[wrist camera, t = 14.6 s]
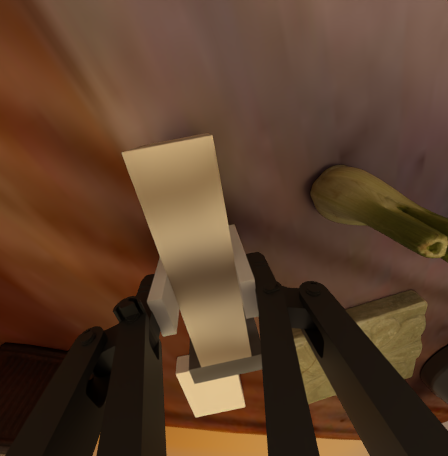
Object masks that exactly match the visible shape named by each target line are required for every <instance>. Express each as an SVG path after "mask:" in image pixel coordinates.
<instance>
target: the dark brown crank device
mask: <svg viewBox="0 0 448 456" xmlns="http://www.w3.org/2000/svg"><path fill="white" fill-rule="evenodd" d="M67 353H68V352H67V351H61V350H56V349H50V348H44V347H39V346H33V345H24V344H14V343H4V344H3V345H1V347H0V456H5V455H6V453H7V451H8V450H9V448H10V446H11V445H12V443H13V441H14V440H15V438H16V437H17V435H18V433H19V432H20V430H21V428H22V427H23V425H24V423H25V422H26V420H27V419H28V417H29V415H30V414H31V412H32V410H33V409H34V407H35V405H36V404H37V402H38V401H39V399H40V397H41V396H42V394H43V392H44V391H45V389H46V388H47V386H48V384H49V383H50V381H51V379H52V378H53V376H54V374H55V373H56V371H57V370H58V368H59V366H60V365H61V363H62V361H63V360H64V358H65V356H66V355H67Z"/></svg>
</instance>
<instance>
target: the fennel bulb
mask: <svg viewBox="0 0 448 456" xmlns="http://www.w3.org/2000/svg"><path fill="white" fill-rule="evenodd" d="M310 195H311V198H312V200H313V202H314V205H315V207H316V209H317V211H318V212H319V213H320V214H321V215H322V216H323V217H325V218H327V219H329V220H331V221H334V222H337V223H342V224H349V225H366V226H367V225H368V226H370V227H372V228H374V229H375V230H377V231H379V232H381V233H382V234H384V235H386V236H388V237H390V238H391V239H393V240H395V241H396V242H398V243H400V244H401V245H403V246H405V247H407V248H408V249H410V250H412V251H414V252H416V253H417V254H419V255H421V256H424V257H426V258H441V259H443V260H445V261H446V262H448V218H445V217H443V216H440V215H438V214H436V213H433V212H431V211H429V210H427V209H425V208H423V207H421V206H419V205H417V204H415V203H414V202H413V201H411V200H409V199H408V198H407V197H405V196H403V195H402V194H401V193H399V192H398V191H397V190H395V189H394V188H392V187H391V186H389V185H388V184H386V183H385V182H383V181H381V180H380V179H378V178H377V177H375V176H373V175H372V174H370V173H368V172H366V171H364V170H361V169H358V168H353V167H348V166H345V165H336V166H332V167H330V168H328V169H327V170H325V171H324V172H323V173H322V174H321V175H320V177H319V178H318V179H317V180H316V181H315V182H314V183H313V185H312V189H311V192H310Z"/></svg>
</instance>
